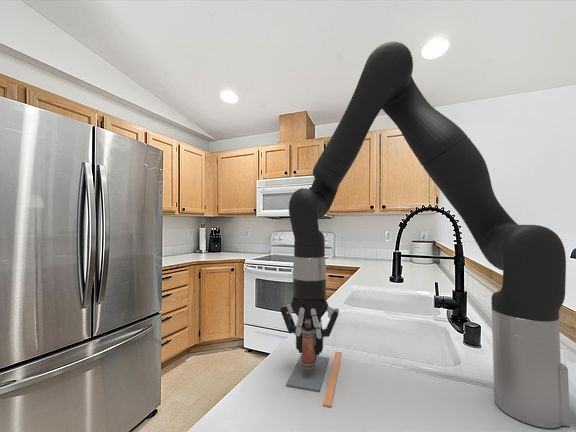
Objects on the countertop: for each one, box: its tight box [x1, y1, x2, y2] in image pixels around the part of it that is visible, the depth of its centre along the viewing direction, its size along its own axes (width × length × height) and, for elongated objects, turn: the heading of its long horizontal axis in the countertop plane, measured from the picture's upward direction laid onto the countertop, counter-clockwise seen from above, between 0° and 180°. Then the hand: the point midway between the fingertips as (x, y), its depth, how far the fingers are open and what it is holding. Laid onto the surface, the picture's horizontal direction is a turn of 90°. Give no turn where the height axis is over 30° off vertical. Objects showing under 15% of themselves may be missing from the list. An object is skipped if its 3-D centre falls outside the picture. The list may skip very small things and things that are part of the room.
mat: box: [285, 353, 330, 393], centre depth 61 cm, size 7×14×1 cm, turn 164°
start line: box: [322, 351, 342, 408], centre depth 60 cm, size 2×22×1 cm, turn 164°
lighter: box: [301, 318, 318, 369], centre depth 62 cm, size 8×3×10 cm, turn 168°
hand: (309, 352), depth 62 cm, fingers closed on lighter, 3 cm apart
